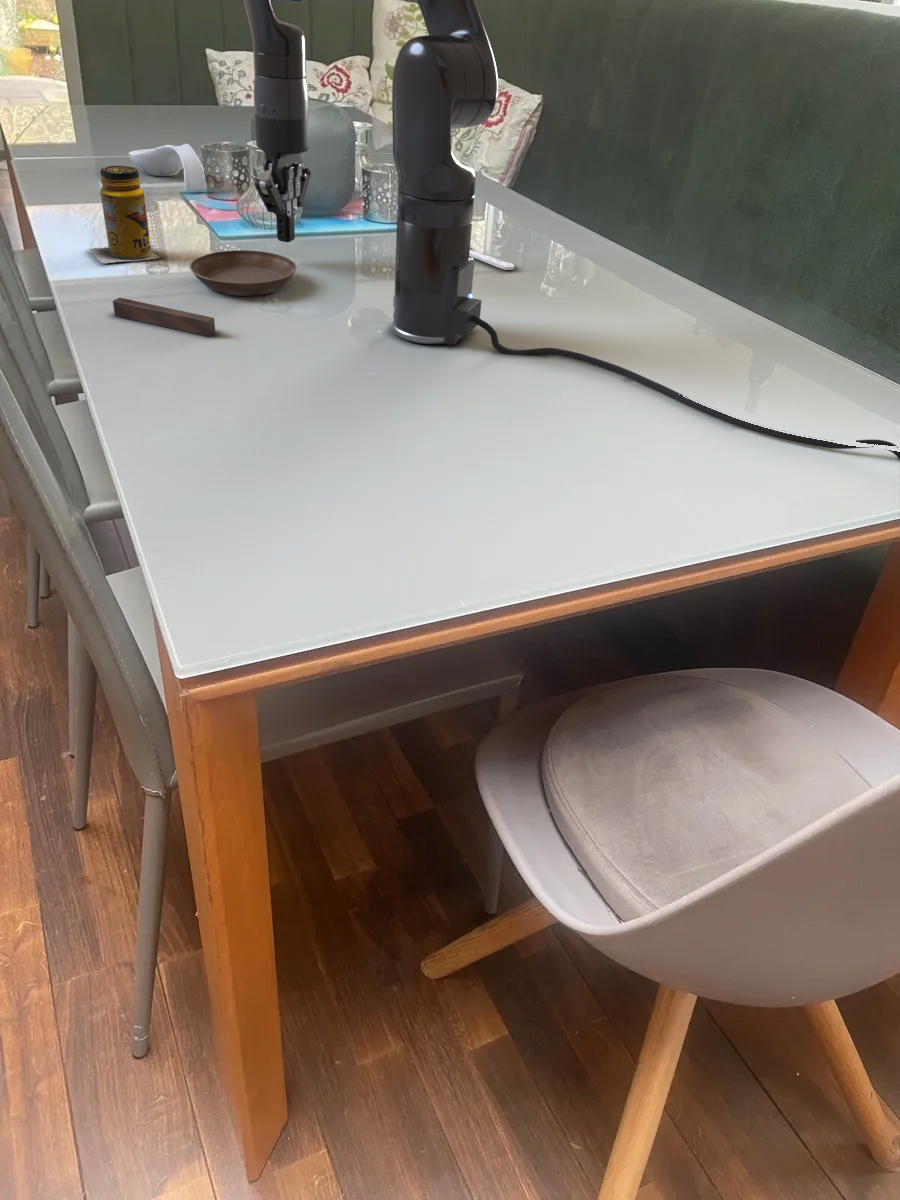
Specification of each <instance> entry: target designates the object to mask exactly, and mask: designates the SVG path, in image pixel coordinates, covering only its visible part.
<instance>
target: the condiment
mask: <svg viewBox="0 0 900 1200" xmlns="http://www.w3.org/2000/svg"><path fill="white" fill-rule="evenodd" d="M99 174H100V177H101V180H100V183H101V186H102V187H101V188H100V191H99V192H100V200H101V207H102V211H103V212H102V214H103V218H104V227H105V231H106V237H107V239H106V240H107V245H108V246H107V247H100V248H99V247H92V248H88V250H89V251H90V253H91V254H92V255H94V257H95V258H96V259H97V260H98V261H100V262H101V264H111V263H112V264H113V263H122V262H137V261H149V260H156V259H160V258H161V256H159V255H157V254H156V253H155V252H154V251H152V249H151V241H150V231H149V222H148V215H147V208H146V200H145V199H146V196H145V192H144V190H143V189H142V187H141V181H140V172H139V170H138V169H137V168H136V167H133V166H128V165H119V164H118V165H108V166H104V167H102V168H101V169H100V171H99Z"/></svg>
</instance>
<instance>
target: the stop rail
mask: <svg viewBox="0 0 900 1200" xmlns="http://www.w3.org/2000/svg"><path fill="white" fill-rule="evenodd" d="M112 306H113V313H114V316H115V317H118V318H122V319H127V320H132V321H137V322H140V323H145V324H150V325H154V326H159V327H164V328H168V329H173V330H177V331H182V332H186V333H189V334H194V335H198V336H205V337H211V336H213V335H215V334H216V325H215V323H216V322H215V317H212V316H208V315H203V314H198V313H193V312H189V311H184V310H180V309H175V308H171V307H166V306H161V305H156V304H151V303H147V302H143V301H137V300H133V299H129V298H124V297H118V298H116V299H113V300H112Z"/></svg>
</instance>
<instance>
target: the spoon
mask: <svg viewBox="0 0 900 1200" xmlns="http://www.w3.org/2000/svg"><path fill="white" fill-rule="evenodd" d="M469 257H471V258H473V259H476V260H479V261H481V262H484V263H486V264H488V265H491V266H494V267H496V268H498V269H501V270H504V271H506V270H507V271H512V270H514V269H515V264H513V263H511V262H509V261H505V260H502V259H499V258H496V257H492V256H490V255H488V254H483V253H481V252H479V251H475V250H471V249H470V254H469Z"/></svg>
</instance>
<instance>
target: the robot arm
mask: <svg viewBox="0 0 900 1200" xmlns="http://www.w3.org/2000/svg"><path fill="white" fill-rule="evenodd" d="M242 1H243V5H244V8H245V12H246V16H247V20H248V24H249V29H250V33H251V39H252V53H253V55H252V56H253V72H254V80H253V107H254V110H253V111H254V128H255V144H256V147H257V148H258V149H259V150H262V152H263V153H264V159H263V166H262V168H263V171H264V173H263V176H262V178H261V179H259V178H256V179H255V181H254V187H255V189H256V192H257V193H258V195H259V197H260V199H261V201H262V203H263V205H264V207H265V209H266V212H268V213H272V214H273V215H275V219H276V238H277V240H278V242H279V241H280V242H283V243H290V242H293V241H294V240H295V239H296V234H295V231H296V230H295V215H296V214H297V212H298V208H302V207H303V204H304V202H305V196H306V194H307V191H308V186H309V183H310V180H311V176H312V169H311V168H309V167H305V166H304V163H303V162H304V158H303V155H302V154H303V153H305V152H307V151H308V150H309V149H310V108H309V107H310V106H309V103H310V102H309V99H310V98H309V89H308V82H307V55H306V54H307V51H306V50H307V49H306V48H307V47H306V35H305V33H304V31H303V29H301V28H300V27H299V26H297V25H295V24H292V23H288V22H285V21H282V20H279V19H278V17H277V16H276V14H275V12H274V9H273V6H272V5H273V4H272V2H279V3H280V2H281V3H305V2H306V1H307V0H242ZM415 2H416V4H417V6H418V8H419V11H420V13H421V16H422V18H423V22H424V25H425V28H426V31H427V34H428V35H418V36H413V37H411V38H410V39H407V41H405V43H404V44H403V45H402V46H401V48H400V50H399V52H398V54H397V57H396V59H395V63H394V67H393V72H392V82H391V83H392V85H391V114H392V117H391V118H392V157H393V163H394V167H395V170H396V173H397V179H398V180H397V212H396V214H397V215H396V239H395V240H396V241H395V268H394V271H395V272H394V292H393V293H394V295H393V300H392V301H393V303H392V305H393V306H392V307H393V321H392V332H393V333H394V335H395V336H397V337H399V338H401V339H402V340H405V341H409V342H411V343H416V344H424V345H448V346H454V345H455V344H456V343H457V342H459V341H460V340H461V339H462V338H464V337H467V336H468V335H469V334H470V333H471V332H472V331H473V330H474V329H476V327H478V326H479V327H480V328H482V329H483V330H485V331H486V332H487V333H488V334H489V337H490V340H491V341H490V342H491V345H492V347H493V348H494V350H495V351H498V352H499V353H501V354H504V355H512V356H545V355H546V356H547V355H548V356H549V355H550V356H558V357H563V358H567V359H568V358H569V359H572V360H577V361H581V362H582V363H583V362H584V363H586V364H590V365H593V366H596V367H599V368H602V369H604V370H607V371H610V372H613V373H616V374H618V375H621V376H623V377H626V378H627V379H631V380H632V381H634V382H637V383H639V384H641V385H643V386H645V387H647V388H650V389H652V390H654V391H656V392H659V393H661V394H663V395H665V396H667V397H669V398H671V399H673V400H675V401H677V402H678V403H679V402H680V403H682V404H683V405H686V406H687V407H690V408H692V409H695V410H696V411H699V412H701V413H704V414H706V415H709V416H711V417H713V418H716V419H718V420H720V421H723V422H726V423H729V424H731V425H733V426H736V427H739V428H742V429H745V430H748V431H751V432H755V433H758V434H761V435H765V436H769V437H772V438H776V439H779V440H784V441H788V442H793V443H798V444H803V445H808V446H812V447H817V448H823V449H832V450H849V449H864V448H865V449H866V448H867V449H868V448H869V447H856V446H848V445H843V444H837V443H833V442H828V441H823V440H817V439H812V438H806V437H801V436H796V435H792V434H787V433H783V432H779V431H775V430H772V429H768V428H764V427H761V426H758V425H754V424H751V423H748V422H745V421H742V420H739V419H736V418H733V417H731V416H728V415H726V414H723V413H721V412H718V411H716V410H713V409H711V408H708V407H706V406H703V405H701V404H699V403H696V402H694V401H692V400H690V399H687V398H689V397H688V396H686V395H684V394H682V393H680V392H677V391H676V390H674V389H672V388H670V387H668V386H666V385H663V384H661V383H659V382H657V381H655V380H652V379H650V378H648V377H646V376H643V375H641V374H638V373H637V372H635V371H632V370H630V369H627V368H624V367H622V366H620V365H617V364H615V363H611V362H608V361H605V360H603V359H600V358H596V357H593V356H590V355H588V354H583V353H580V352H576V351H573V350H568V349H562V348H556V347H538V348H537V347H536V348H529V349H512V348H508V347H506V346H504V345H502V344H501V343H500V341H499V338H498V334H497V331H496V330H495V329H494V328H493V326H492V325H490V323H488V322H486V321H485V320H483V319H482V318H481V310H482V299H479V298H473V294H472V293H473V280H474V269H475V258H473V257H471V256H469V254H470V250H471V240H472V231H473V230H472V227H473V215H474V203H475V191H476V178H477V177H476V173H475V170H474V169H473V168H472V167H471V166H470V165H469V164H467V163H464V162H462V161H459V160H457V158H456V157H455V156H454V154H453V148H452V130H458V129H467V128H473V127H477V126H480V125H482V124H484V123H485V122H486V121H487V120H488V119H490V117H491V115H492V114H493V112H494V110H495V107H496V103H497V98H498V89H499V81H498V70H497V65H496V61H495V57H494V53H493V50H492V47H491V43H490V40H489V38H488V35H487V31H486V29H485V27H484V24H483V19H482V17H481V14H480V12H479V9H478V7H477V3H476V1H475V0H415ZM679 394H680V395H679ZM683 395H684V396H685V397H687V398H685V397H683ZM856 442H860V443H867V444H874V445H875V444H876V445H877V444H878V445H886V446H887V445H888V446H897V445H896V444H895V443H893V442H890V441H887V440H882V439H856ZM885 450H886V451H889V452H891V453H892V454H893V455H894V456H896V457H897V459H898V460H899V461H900V452H897V451H891V450H887V449H885Z"/></svg>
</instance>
